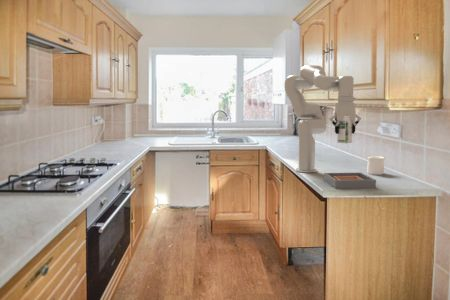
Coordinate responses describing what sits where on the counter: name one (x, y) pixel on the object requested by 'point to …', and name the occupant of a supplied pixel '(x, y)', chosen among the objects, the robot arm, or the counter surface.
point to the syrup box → (345, 131)
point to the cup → (375, 165)
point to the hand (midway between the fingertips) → (344, 133)
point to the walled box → (349, 180)
